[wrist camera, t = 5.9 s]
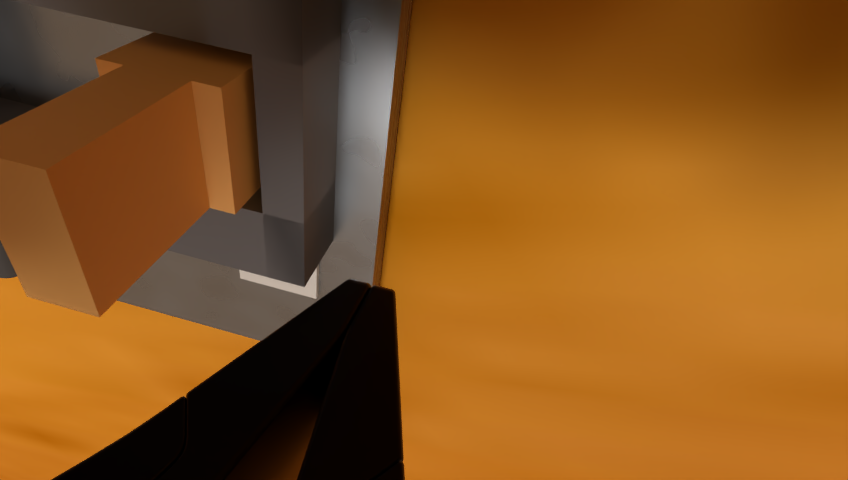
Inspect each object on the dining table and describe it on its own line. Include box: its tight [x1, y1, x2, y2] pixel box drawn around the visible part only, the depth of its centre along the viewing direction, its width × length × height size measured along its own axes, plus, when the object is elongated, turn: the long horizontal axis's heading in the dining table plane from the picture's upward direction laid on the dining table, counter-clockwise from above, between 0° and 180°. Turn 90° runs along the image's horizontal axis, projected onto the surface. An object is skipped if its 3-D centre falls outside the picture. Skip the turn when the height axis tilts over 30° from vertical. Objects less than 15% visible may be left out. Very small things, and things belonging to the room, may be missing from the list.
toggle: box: [0, 32, 261, 317], centre depth 12 cm, size 3×3×7 cm
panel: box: [0, 0, 413, 341], centre depth 16 cm, size 16×22×1 cm
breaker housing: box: [0, 0, 342, 299], centre depth 15 cm, size 13×12×2 cm
